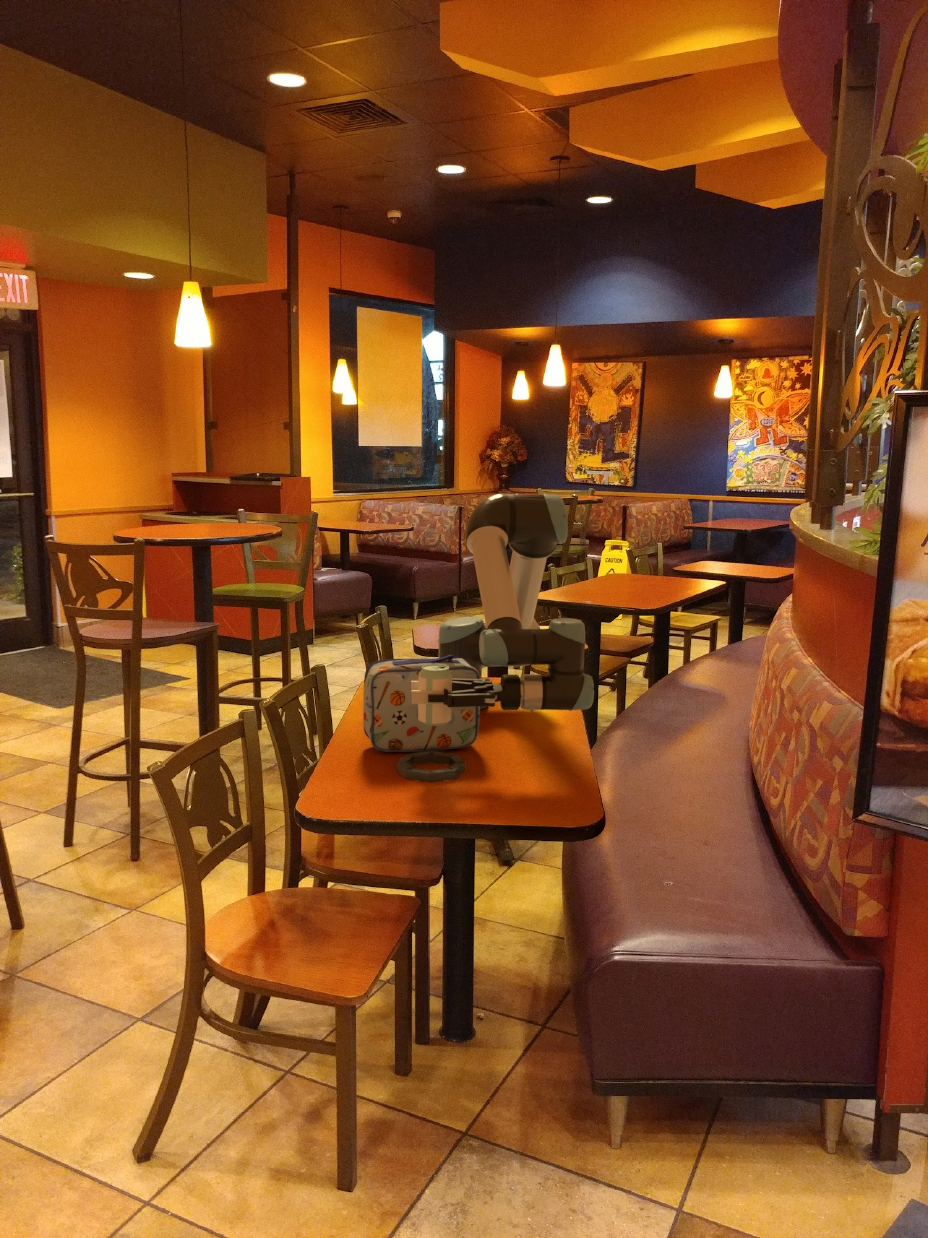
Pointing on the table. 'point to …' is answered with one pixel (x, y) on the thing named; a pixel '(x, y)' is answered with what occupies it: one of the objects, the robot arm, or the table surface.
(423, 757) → the ring
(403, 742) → the lunch box
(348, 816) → the table surface
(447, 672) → the can
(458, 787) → the table surface
